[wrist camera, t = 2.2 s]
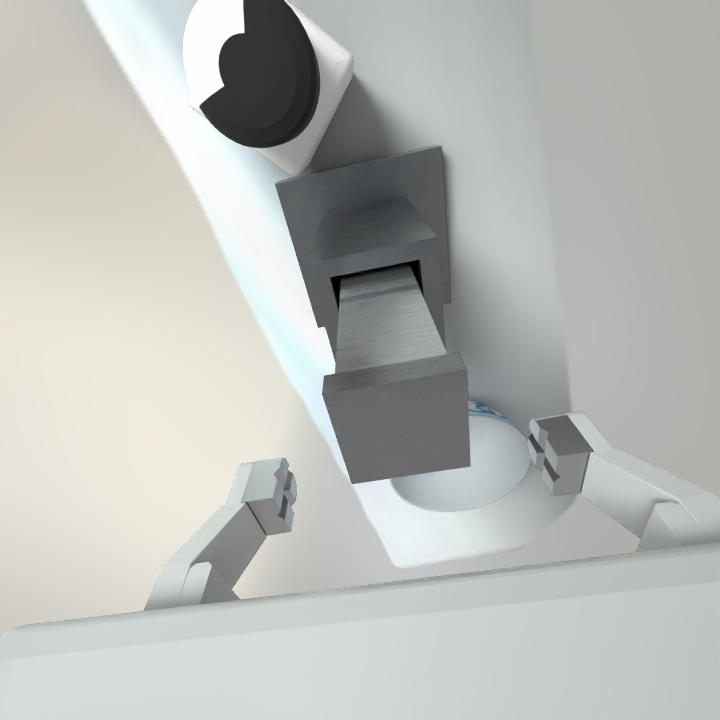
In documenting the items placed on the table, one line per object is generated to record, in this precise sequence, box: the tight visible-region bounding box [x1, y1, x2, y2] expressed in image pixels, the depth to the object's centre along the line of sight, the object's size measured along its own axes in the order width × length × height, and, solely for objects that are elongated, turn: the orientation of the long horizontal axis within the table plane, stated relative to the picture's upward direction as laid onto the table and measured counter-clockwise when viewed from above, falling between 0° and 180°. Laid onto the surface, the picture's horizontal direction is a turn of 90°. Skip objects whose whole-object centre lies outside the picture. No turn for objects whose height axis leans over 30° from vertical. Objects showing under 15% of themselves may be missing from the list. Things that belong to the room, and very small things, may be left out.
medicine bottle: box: [183, 0, 354, 176], centre depth 21 cm, size 7×7×12 cm
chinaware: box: [389, 400, 531, 512], centre depth 41 cm, size 15×15×8 cm
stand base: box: [275, 145, 451, 362], centre depth 26 cm, size 13×13×14 cm
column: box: [322, 262, 471, 484], centre depth 22 cm, size 5×5×22 cm
